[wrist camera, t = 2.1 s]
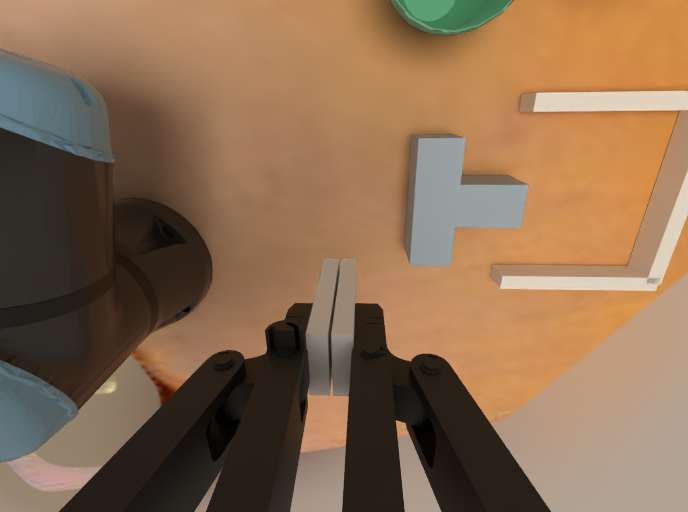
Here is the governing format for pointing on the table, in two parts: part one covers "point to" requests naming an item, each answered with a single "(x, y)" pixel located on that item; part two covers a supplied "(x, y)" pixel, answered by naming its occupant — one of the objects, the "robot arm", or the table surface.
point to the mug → (449, 14)
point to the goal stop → (661, 215)
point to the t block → (453, 199)
